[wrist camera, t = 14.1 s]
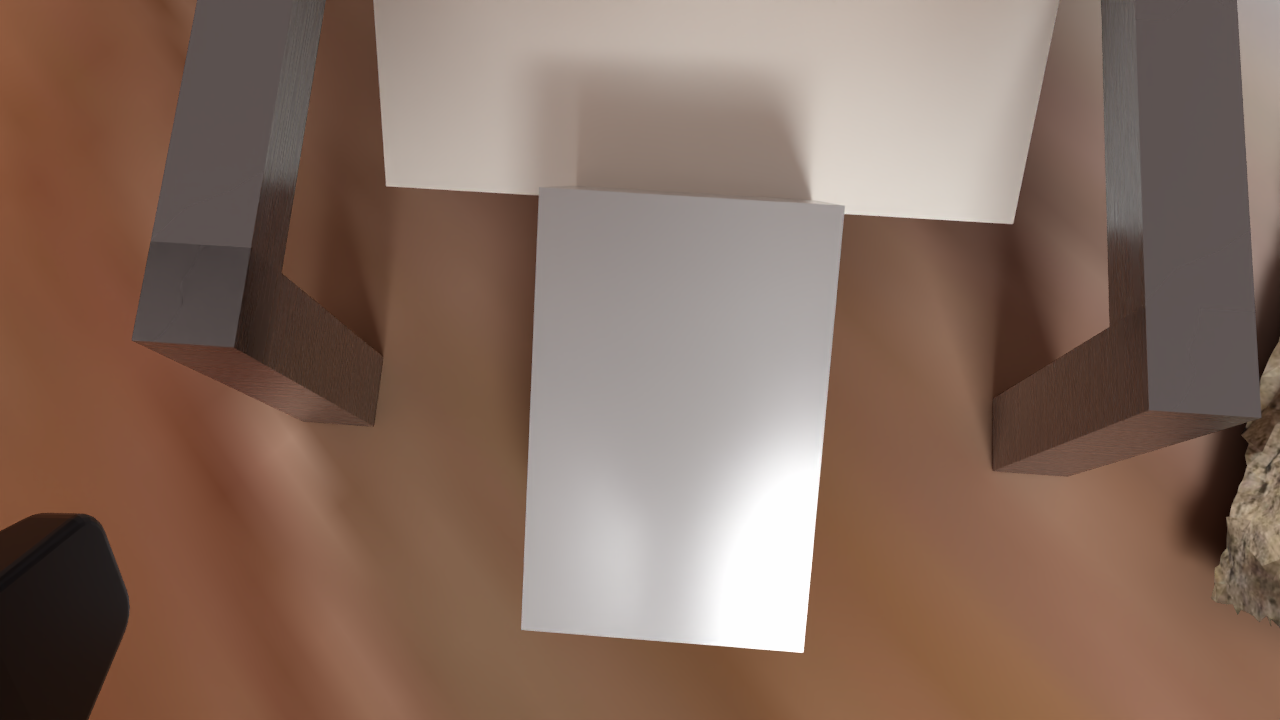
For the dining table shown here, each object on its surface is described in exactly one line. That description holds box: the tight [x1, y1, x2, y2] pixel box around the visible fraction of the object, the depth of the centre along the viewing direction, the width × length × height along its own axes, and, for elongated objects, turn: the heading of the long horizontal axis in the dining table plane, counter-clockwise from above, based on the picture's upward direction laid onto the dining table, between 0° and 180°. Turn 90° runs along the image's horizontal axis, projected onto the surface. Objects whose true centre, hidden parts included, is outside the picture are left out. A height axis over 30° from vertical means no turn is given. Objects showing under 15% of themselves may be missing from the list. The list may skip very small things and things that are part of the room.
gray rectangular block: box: [521, 186, 845, 653], centre depth 18 cm, size 4×4×7 cm
